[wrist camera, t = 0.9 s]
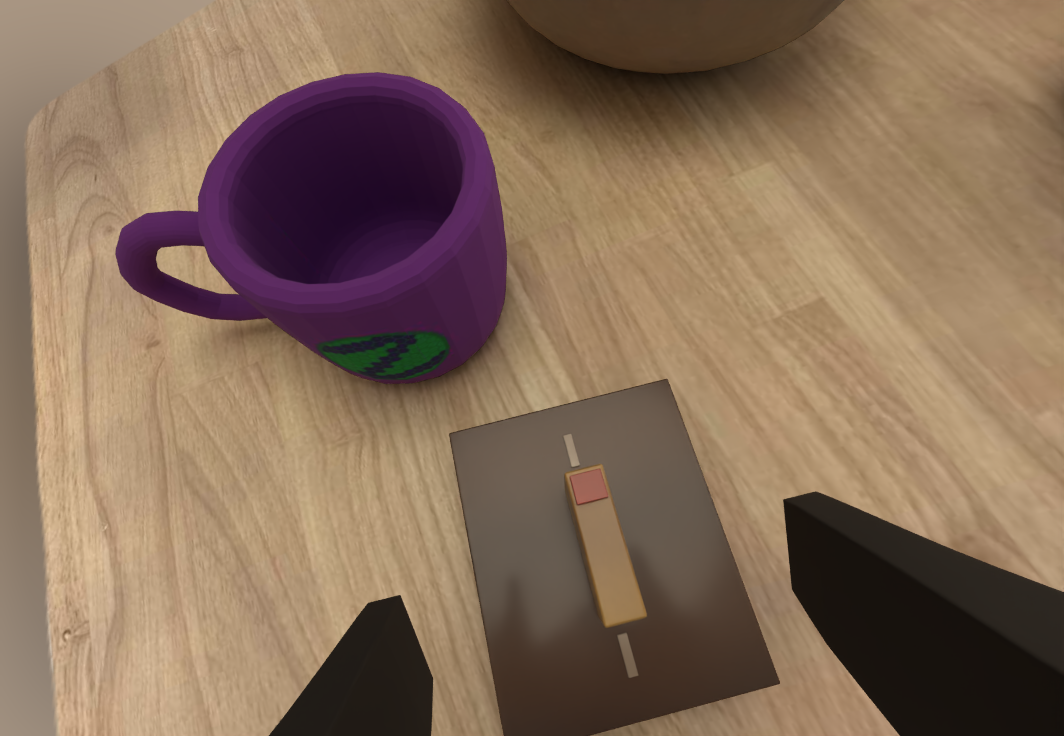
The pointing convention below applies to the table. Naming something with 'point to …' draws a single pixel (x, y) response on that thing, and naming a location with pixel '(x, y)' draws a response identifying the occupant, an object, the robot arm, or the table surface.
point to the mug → (346, 228)
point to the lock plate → (561, 580)
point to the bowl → (672, 29)
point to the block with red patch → (603, 547)
